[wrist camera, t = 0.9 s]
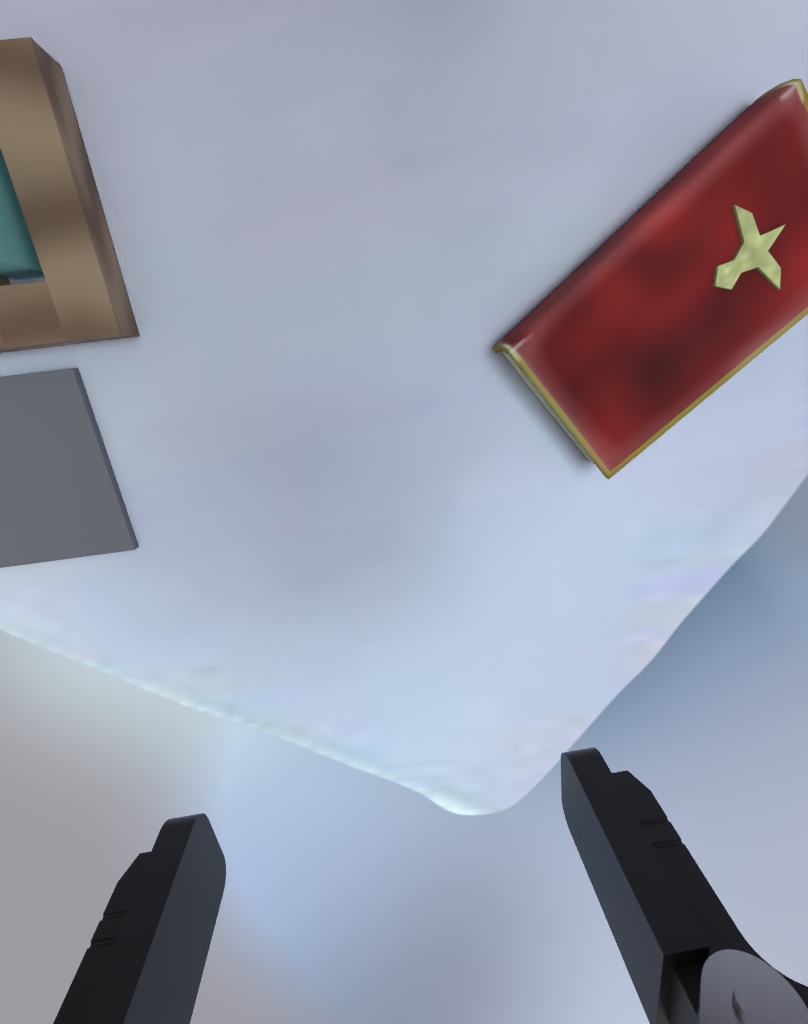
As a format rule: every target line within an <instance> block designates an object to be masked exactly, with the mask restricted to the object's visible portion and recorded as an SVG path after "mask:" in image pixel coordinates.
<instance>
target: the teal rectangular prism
mask: <svg viewBox="0 0 808 1024" xmlns="http://www.w3.org/2000/svg"><path fill="white" fill-rule="evenodd" d="M0 276H2V277H7V278H12V279H17V280H20V279H29V278H38V277H44V274H43V271H42V268H41V265H40V262H39V259H38V256H37V253H36V250H35V247H34V244H33V242H32V239H31V236H30V233H29V230H28V227H27V224H26V221H25V218H24V215H23V212H22V209H21V206H20V204H19V201H18V198H17V195H16V192H15V189H14V186H13V183H12V180H11V177H10V174H9V171H8V168H7V166H6V163H5V160H4V157H3V154H2V151H1V149H0Z"/></svg>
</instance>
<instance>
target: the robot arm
mask: <svg viewBox="0 0 808 1024" xmlns="http://www.w3.org/2000/svg"><path fill="white" fill-rule="evenodd" d="M561 788H562V805H563V810H564V814H565V818H566V821H567V824H568V827H569V830H570V832H571V835H572V837H573V840H574V842H575V845H576V847H577V849H578V852H579V854H580V857H581V859H582V861H583V864H584V866H585V869H586V871H587V873H588V876H589V878H590V881H591V883H592V885H593V888H594V890H595V893H596V895H597V897H598V900H599V902H600V905H601V907H602V909H603V912H604V914H605V917H606V919H607V921H608V924H609V926H610V929H611V931H612V933H613V936H614V938H615V940H616V943H617V945H618V947H619V950H620V953H621V955H622V957H623V960H624V962H625V965H626V967H627V969H628V972H629V974H630V977H631V979H632V981H633V984H634V986H635V989H636V991H637V993H638V996H639V998H640V1001H641V1003H642V1005H643V1008H644V1010H645V1013H646V1015H647V1017H648V1020H649V1022H650V1024H808V987H807V986H804V985H802V984H800V983H798V982H795V981H793V980H792V979H790V978H788V977H786V976H785V975H783V974H782V973H780V972H779V971H777V970H776V969H774V968H773V967H772V966H771V965H770V964H768V963H767V962H766V961H765V960H763V959H762V958H761V957H760V956H759V955H758V954H757V953H756V952H755V951H754V950H753V948H752V947H751V946H750V945H749V944H748V943H747V941H746V940H745V939H744V937H743V936H742V934H741V933H740V932H739V930H738V928H737V927H736V925H735V924H734V922H733V920H732V919H731V917H730V916H729V914H728V913H727V911H726V910H725V908H724V906H723V905H722V903H721V902H720V900H719V898H718V897H717V895H716V894H715V892H714V890H713V889H712V887H711V886H710V884H709V883H708V881H707V879H706V878H705V876H704V875H703V873H702V871H701V870H700V868H699V867H698V865H697V864H696V862H695V860H694V859H693V857H692V856H691V854H690V852H689V851H688V849H687V848H686V846H685V845H684V844H682V842H681V838H680V837H679V835H678V833H677V832H676V830H675V829H674V827H673V826H672V824H671V822H669V821H668V820H667V816H666V815H665V813H664V811H663V810H662V808H661V806H660V805H659V803H658V802H657V800H656V799H655V797H654V795H653V794H652V792H651V791H650V790H649V789H648V788H647V787H645V786H644V785H643V784H642V783H641V782H640V781H639V780H638V779H637V778H635V777H634V776H633V775H632V774H631V773H630V772H628V771H622V772H617V773H611V771H610V769H609V768H608V766H607V764H606V762H605V761H604V759H603V757H602V755H601V754H600V752H599V751H598V750H597V749H596V748H588V749H582V750H577V751H571V752H565V753H562V754H561ZM225 879H226V864H225V858H224V855H223V852H222V850H221V848H220V845H219V843H218V841H217V838H216V836H215V833H214V831H213V829H212V827H211V824H210V822H209V819H208V818H207V816H206V815H205V814H196V815H191V816H185V817H179V818H173V819H169V820H167V821H166V822H165V823H164V825H163V826H162V828H161V830H160V832H159V835H158V837H157V840H156V842H155V844H154V847H153V849H152V851H151V852H147V853H140V854H139V856H138V857H137V858H136V859H135V860H134V862H133V863H132V864H131V866H130V867H129V868H128V870H127V871H126V872H125V874H124V875H123V876H122V877H121V879H120V880H119V881H118V883H117V885H116V887H115V889H114V892H113V894H112V896H111V898H110V900H109V902H108V905H107V907H106V909H105V911H104V914H103V920H102V921H100V923H99V924H98V927H97V929H96V931H95V933H94V935H93V938H92V940H91V946H90V948H89V949H87V951H86V953H85V955H84V957H83V960H82V962H81V964H80V966H79V968H78V971H77V973H76V975H75V977H74V979H73V982H72V984H71V986H70V988H69V991H68V993H67V995H66V997H65V999H64V1001H63V1003H62V1006H61V1008H60V1010H59V1012H58V1014H57V1017H56V1019H55V1021H54V1023H53V1024H190V1020H191V1016H192V1013H193V1009H194V1005H195V1001H196V997H197V993H198V989H199V985H200V981H201V977H202V974H203V969H204V966H205V962H206V958H207V954H208V950H209V946H210V942H211V938H212V935H213V931H214V926H215V923H216V919H217V915H218V911H219V907H220V903H221V899H222V896H223V891H224V887H225Z"/></svg>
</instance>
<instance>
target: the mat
mask: <svg viewBox="0 0 808 1024" xmlns="http://www.w3.org/2000/svg"><path fill="white" fill-rule="evenodd" d="M137 547H138V543H137V540H136V537H135V534H134V531H133V529H132V526H131V523H130V520H129V517H128V514H127V511H126V508H125V505H124V502H123V499H122V496H121V493H120V490H119V487H118V484H117V482H116V479H115V476H114V473H113V470H112V467H111V464H110V461H109V458H108V455H107V452H106V449H105V446H104V443H103V440H102V438H101V435H100V432H99V429H98V426H97V423H96V420H95V417H94V414H93V411H92V408H91V405H90V402H89V399H88V396H87V394H86V391H85V388H84V385H83V382H82V379H81V376H80V373H79V370H78V368H75V369H65V370H57V371H49V372H40V373H32V374H24V375H15V376H7V377H0V568H2V567H10V566H17V565H24V564H32V563H39V562H47V561H54V560H61V559H69V558H76V557H84V556H91V555H98V554H106V553H113V552H121V551H128V550H135V549H136V548H137Z"/></svg>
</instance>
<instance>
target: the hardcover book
mask: <svg viewBox="0 0 808 1024" xmlns="http://www.w3.org/2000/svg"><path fill="white" fill-rule="evenodd" d="M807 314H808V94H807V92H806V89H805V87H804V85H803V83H802V80H801V79H792V80H790V81H787V82H785V83H782V84H780V85H778V86H776V87H774V88H773V89H771V90H769V91H767V92H766V93H765V94H763V95H762V96H761V97H759V98H758V99H757V100H756V101H755V102H754V103H753V104H752V105H751V106H750V107H748V108H747V109H746V110H745V111H744V112H743V113H742V114H741V115H740V116H739V117H738V118H737V119H736V120H735V121H734V122H733V123H732V124H730V125H729V126H728V127H727V128H726V129H725V130H724V131H723V132H722V133H721V134H720V135H719V136H718V137H717V138H716V139H715V140H713V141H712V142H711V143H710V144H709V145H708V146H707V147H706V148H705V149H704V150H703V151H702V152H701V153H700V154H699V155H698V156H696V157H695V158H694V159H693V160H692V161H691V162H690V163H689V164H688V165H687V166H686V167H685V168H684V169H683V170H682V171H681V172H680V173H678V174H677V175H676V176H675V177H674V178H673V179H672V180H671V181H670V182H669V183H668V184H667V185H666V186H665V187H664V188H663V189H661V190H660V191H659V192H658V193H657V194H656V195H655V196H654V197H653V198H652V199H651V200H650V201H649V202H648V203H647V204H646V205H644V206H643V207H642V208H641V209H640V210H639V211H638V212H637V213H636V214H635V215H634V216H633V217H632V218H631V219H630V220H629V221H628V222H626V223H625V224H624V225H623V226H622V227H621V228H620V229H619V230H618V231H617V232H616V233H615V234H614V235H613V236H612V237H611V238H609V239H608V240H607V241H606V242H605V243H604V244H603V245H602V246H601V247H600V248H599V249H598V250H597V251H596V252H595V253H594V254H592V255H591V256H590V257H589V258H588V259H587V260H586V261H585V262H584V263H583V264H582V265H581V266H580V267H579V268H578V269H577V270H576V271H574V272H573V273H572V274H571V275H570V276H569V277H568V278H567V279H566V280H565V281H564V282H563V283H562V284H561V285H560V286H559V287H557V288H556V289H555V290H554V291H553V292H552V293H551V294H550V295H549V296H548V297H547V298H546V299H545V300H544V301H543V302H542V303H540V304H539V305H538V306H537V307H536V308H535V309H534V310H533V311H532V312H531V313H530V314H529V315H528V316H527V317H526V318H525V319H523V320H522V321H521V322H520V323H519V324H518V325H517V326H516V327H515V328H514V329H513V330H512V331H511V332H510V333H509V334H508V335H507V336H505V337H504V338H503V339H502V340H501V341H500V342H499V343H498V344H497V345H496V346H495V347H494V348H493V351H494V352H495V353H497V352H500V351H501V352H502V353H503V354H504V355H505V356H506V358H507V359H508V360H509V361H510V363H511V364H512V365H513V366H514V368H515V369H516V370H517V372H518V373H519V374H520V375H521V377H522V378H523V379H524V380H525V382H526V383H527V384H528V385H529V387H530V388H531V389H532V391H533V392H534V393H535V394H536V396H537V397H538V398H539V399H540V401H541V402H542V403H543V404H544V406H545V407H546V408H547V410H548V411H549V412H550V413H551V415H552V416H553V417H554V418H555V420H556V421H557V422H558V423H559V425H560V426H561V427H562V429H563V430H564V431H565V432H566V434H567V435H568V436H569V437H570V439H571V440H572V441H573V442H574V444H575V445H576V446H577V448H578V449H579V450H580V451H581V453H582V454H583V455H584V456H585V458H586V459H587V460H588V461H590V462H592V463H594V464H596V466H597V467H598V468H599V469H600V471H601V472H602V473H603V474H604V476H605V477H606V478H607V479H610V478H611V477H612V476H613V475H614V474H616V473H617V472H618V471H619V470H620V469H622V468H623V467H624V466H625V465H626V464H628V463H629V462H630V461H631V460H633V459H634V458H635V457H636V456H637V455H639V454H640V453H641V452H642V451H643V450H645V449H646V448H647V447H648V446H649V445H651V444H652V443H653V442H654V441H655V440H657V439H658V438H659V437H660V436H661V435H663V434H664V433H665V432H666V431H667V430H669V429H670V428H671V427H672V426H673V425H675V424H676V423H677V422H678V421H679V420H681V419H682V418H683V417H684V416H685V415H687V414H688V413H689V412H690V411H691V410H693V409H694V408H695V407H696V406H697V405H699V404H700V403H701V402H702V401H703V400H705V399H706V398H707V397H708V396H709V395H711V394H712V393H713V392H714V391H715V390H717V389H718V388H719V387H720V386H721V385H723V384H724V383H725V382H726V381H727V380H729V379H730V378H731V377H732V376H734V375H735V374H736V373H737V372H738V371H740V370H741V369H742V368H743V367H744V366H746V365H747V364H748V363H749V362H750V361H752V360H753V359H754V358H755V357H756V356H758V355H759V354H760V353H761V352H762V351H764V350H765V349H766V348H767V347H768V346H770V345H771V344H772V343H773V342H774V341H776V340H777V339H778V338H779V337H780V336H782V335H783V334H784V333H785V332H786V331H788V330H789V329H790V328H791V327H792V326H794V325H795V324H796V323H797V322H798V321H800V320H801V319H802V318H803V317H804V316H806V315H807Z"/></svg>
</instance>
